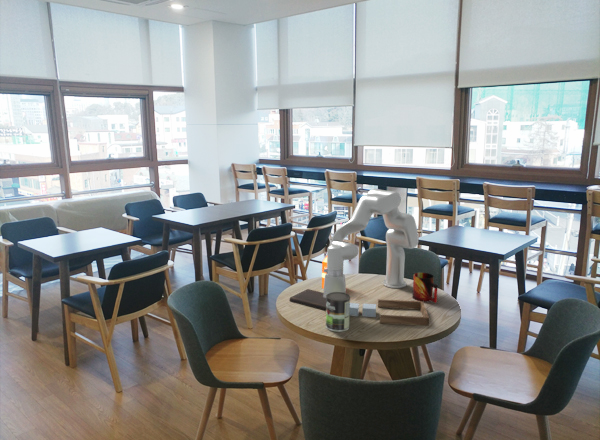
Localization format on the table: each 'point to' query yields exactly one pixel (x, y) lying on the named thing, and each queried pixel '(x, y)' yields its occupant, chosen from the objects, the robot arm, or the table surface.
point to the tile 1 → (354, 309)
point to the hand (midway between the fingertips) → (334, 309)
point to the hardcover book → (310, 299)
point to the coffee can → (337, 311)
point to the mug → (424, 287)
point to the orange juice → (324, 266)
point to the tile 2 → (369, 310)
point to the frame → (404, 319)
